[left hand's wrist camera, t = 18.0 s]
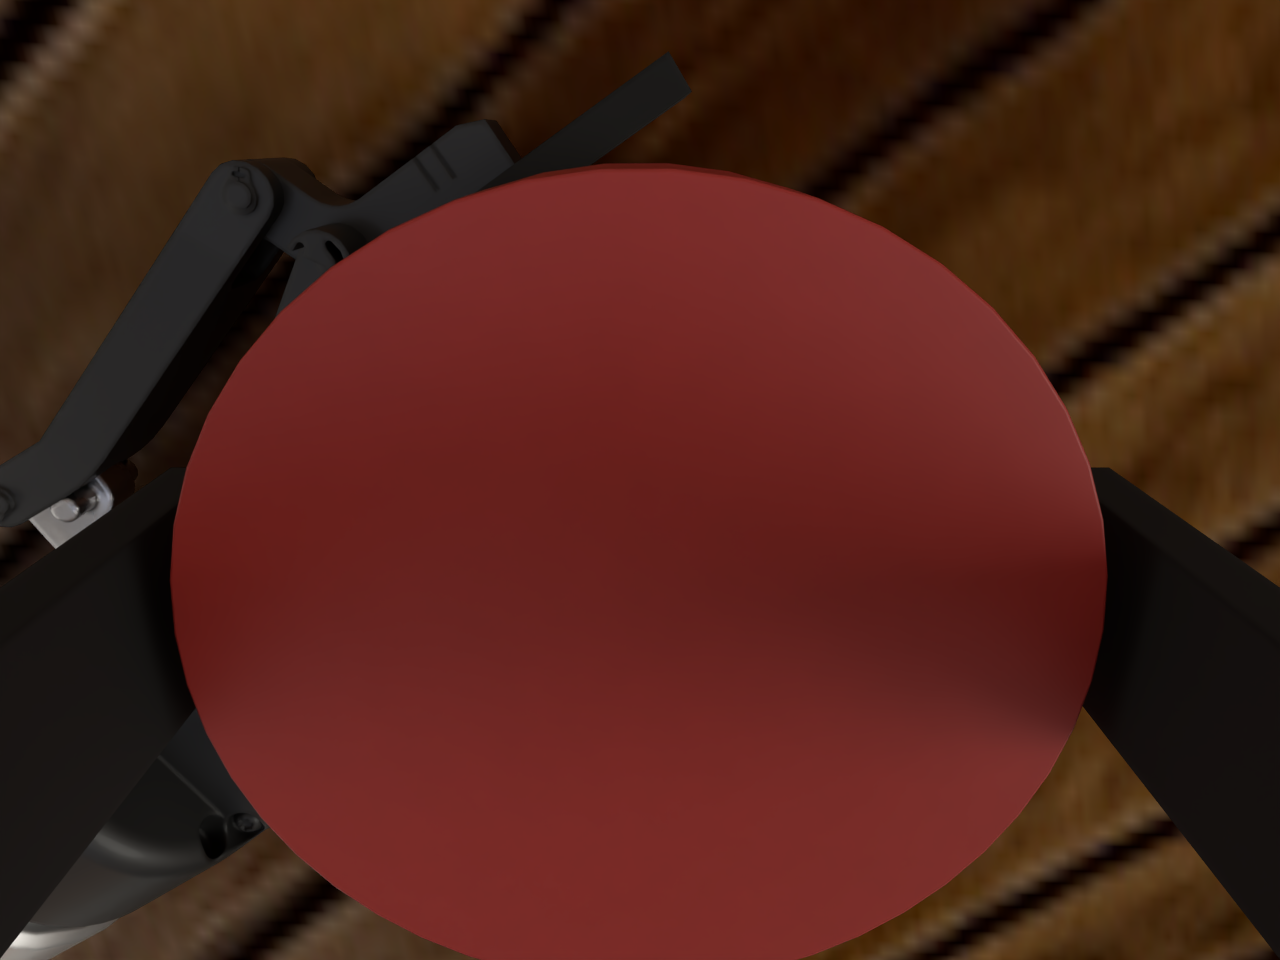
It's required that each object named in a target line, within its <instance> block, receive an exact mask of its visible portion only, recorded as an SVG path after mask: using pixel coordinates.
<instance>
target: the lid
mask: <svg viewBox="0 0 1280 960" xmlns="http://www.w3.org/2000/svg"><path fill="white" fill-rule="evenodd" d="M1107 578H1108V574H1107V561H1106V549H1105V536H1104V524H1103V517H1102V513H1101V509H1100V504H1099V500H1098V496H1097V492H1096V488H1095V484H1094V480H1093V475H1092V471H1091V467H1090V463H1089V461H1088V458H1087V456H1086V454H1085V451H1084V449H1083V446H1082V444H1081V442H1080V439H1079V437H1078V434H1077V432H1076V430H1075V427H1074V425H1073V422H1072V420H1071V418H1070V415H1069V413H1068V410H1067V408H1066V407H1065V405H1064V403H1063V402H1062V400H1061V399H1060V397H1059V395H1058V394H1057V392H1056V390H1055V389H1054V387H1053V386H1052V384H1051V382H1050V381H1049V379H1048V377H1047V376H1046V374H1045V373H1044V371H1043V369H1042V368H1041V366H1040V364H1039V363H1038V361H1037V360H1036V358H1035V356H1034V355H1033V354H1032V353H1031V352H1030V351H1029V349H1028V348H1027V347H1026V346H1025V345H1024V344H1023V342H1022V341H1021V340H1020V339H1019V338H1018V337H1017V335H1016V334H1015V333H1014V332H1013V331H1012V330H1011V328H1010V327H1009V326H1008V325H1007V324H1006V322H1005V321H1004V320H1003V319H1002V318H1001V317H1000V315H999V314H998V313H997V312H996V311H995V310H994V308H993V307H991V306H990V305H989V304H988V303H987V302H986V301H984V300H983V299H982V298H981V297H980V296H979V295H978V294H976V293H975V292H974V291H973V290H972V289H971V288H969V287H968V286H967V285H966V284H965V283H964V282H962V281H961V280H960V279H959V278H958V277H957V276H955V275H954V274H953V273H952V272H951V271H950V270H949V269H947V268H946V267H945V266H944V265H943V264H941V263H940V262H938V261H937V260H935V259H933V258H932V257H930V256H929V255H927V254H925V253H924V252H922V251H921V250H919V249H918V248H916V247H914V246H913V245H911V244H910V243H908V242H906V241H905V240H903V239H902V238H900V237H898V236H897V235H895V234H894V233H892V232H891V231H889V230H887V229H886V228H884V227H882V226H880V225H878V224H876V223H873V222H871V221H869V220H866V219H864V218H862V217H860V216H857V215H855V214H853V213H851V212H848V211H846V210H844V209H842V208H839V207H837V206H835V205H833V204H830V203H828V202H826V201H824V200H821V199H819V198H816V197H813V196H811V195H808V194H805V193H802V192H799V191H796V190H793V189H790V188H786V187H783V186H779V185H776V184H772V183H768V182H765V181H761V180H758V179H754V178H751V177H747V176H744V175H740V174H736V173H733V172H729V171H722V170H714V169H707V168H699V167H692V166H685V165H677V164H670V163H616V164H599V165H592V166H585V167H578V168H571V169H564V170H557V171H551V172H544V173H540V174H537V175H533V176H530V177H526V178H523V179H520V180H516V181H513V182H509V183H506V184H503V185H499V186H496V187H492V188H489V189H486V190H482V191H479V192H476V193H473V194H470V195H467V196H464V197H461V198H458V199H455V200H453V201H451V202H448V203H446V204H444V205H442V206H440V207H437V208H435V209H433V210H431V211H429V212H427V213H424V214H422V215H420V216H418V217H416V218H413V219H411V220H409V221H407V222H405V223H402V224H400V225H398V226H396V227H394V228H391V229H389V230H388V231H386V232H385V233H383V234H381V235H380V236H378V237H377V238H375V239H374V240H372V241H371V242H369V243H368V244H366V245H364V246H363V247H361V248H360V249H358V250H357V251H355V252H354V253H352V254H351V255H349V256H347V257H346V258H344V259H343V260H341V261H340V262H338V263H337V264H335V265H334V266H332V267H331V268H329V269H328V270H327V271H326V272H325V273H324V274H323V275H321V276H320V277H319V278H318V279H317V280H316V281H315V282H314V283H312V284H311V285H310V286H309V287H308V288H307V289H306V290H304V291H303V292H302V293H301V294H300V295H299V296H298V297H297V298H295V299H294V300H293V301H292V302H291V303H290V304H289V305H288V306H286V307H285V308H284V309H283V310H282V311H281V312H280V313H279V314H278V315H277V317H276V318H275V319H274V320H273V321H272V323H271V324H270V325H269V326H268V327H267V329H266V330H265V331H264V332H263V333H262V335H261V336H260V337H259V338H258V339H257V341H256V342H255V343H254V344H253V345H252V347H251V348H250V349H249V350H248V351H247V353H246V354H245V355H244V356H243V357H242V359H241V360H240V361H239V363H238V365H237V366H236V368H235V370H234V371H233V373H232V375H231V376H230V378H229V380H228V381H227V383H226V385H225V386H224V388H223V390H222V391H221V393H220V395H219V396H218V398H217V400H216V401H215V403H214V405H213V406H212V408H211V410H210V411H209V413H208V415H207V418H206V420H205V423H204V425H203V428H202V430H201V433H200V435H199V438H198V440H197V443H196V445H195V448H194V450H193V453H192V455H191V458H190V460H189V463H188V465H187V468H186V472H185V476H184V481H183V485H182V489H181V494H180V498H179V503H178V507H177V511H176V516H175V520H174V526H173V541H172V555H171V570H170V587H171V599H172V610H173V622H174V633H175V638H176V642H177V646H178V650H179V654H180V659H181V663H182V667H183V671H184V675H185V679H186V684H187V687H188V689H189V692H190V694H191V697H192V699H193V702H194V704H195V707H196V709H197V712H198V714H199V717H200V719H201V722H202V724H203V727H204V729H205V732H206V734H207V736H208V738H209V739H210V741H211V743H212V745H213V746H214V748H215V750H216V752H217V753H218V755H219V757H220V759H221V761H222V762H223V764H224V766H225V768H226V769H227V771H228V773H229V775H230V777H231V778H232V779H233V781H234V782H235V783H236V785H237V786H238V787H239V789H240V790H241V792H242V793H243V794H244V796H245V797H246V798H247V800H248V801H249V802H250V804H251V805H252V806H253V808H254V809H255V810H256V812H257V813H258V814H259V816H260V817H261V818H262V819H263V820H264V821H265V822H266V823H267V825H268V826H269V827H270V828H271V829H272V830H273V831H274V832H275V833H276V834H277V835H278V836H279V837H280V838H281V839H282V840H283V841H284V842H285V843H286V844H287V845H288V847H289V848H290V849H291V850H292V851H293V852H294V853H295V854H296V855H297V856H299V857H300V858H301V859H302V860H303V861H305V862H306V863H307V864H308V865H309V866H311V867H312V868H313V869H314V870H315V871H317V872H318V873H319V874H320V875H321V876H323V877H324V878H325V879H326V880H327V881H329V882H330V883H331V884H332V885H333V886H335V887H336V888H338V889H339V890H341V891H342V892H344V893H345V894H347V895H348V896H350V897H351V898H353V899H354V900H356V901H357V902H359V903H360V904H362V905H363V906H365V907H366V908H368V909H370V910H371V911H373V912H374V913H376V914H377V915H379V916H381V917H383V918H385V919H387V920H389V921H391V922H393V923H394V924H396V925H398V926H400V927H402V928H404V929H406V930H408V931H410V932H412V933H414V934H416V935H418V936H420V937H422V938H424V939H427V940H429V941H432V942H434V943H437V944H439V945H442V946H444V947H447V948H449V949H452V950H454V951H457V952H459V953H462V954H464V955H467V956H470V957H473V958H477V959H480V960H797V959H800V958H804V957H807V956H811V955H814V954H816V953H819V952H821V951H824V950H826V949H829V948H831V947H834V946H836V945H838V944H841V943H843V942H846V941H848V940H851V939H853V938H856V937H858V936H860V935H862V934H864V933H866V932H868V931H870V930H872V929H874V928H876V927H877V926H879V925H881V924H883V923H885V922H887V921H889V920H891V919H893V918H895V917H896V916H898V915H900V914H902V913H904V912H906V911H907V910H909V909H910V908H911V907H913V906H914V905H916V904H917V903H919V902H920V901H922V900H923V899H925V898H926V897H928V896H929V895H931V894H932V893H934V892H935V891H937V890H938V889H940V888H941V887H943V886H944V885H946V884H947V883H948V882H949V881H950V880H952V879H953V878H954V877H955V876H956V875H958V874H959V873H960V872H961V871H962V870H963V869H965V868H966V867H967V866H968V865H969V864H971V863H972V862H973V861H974V860H975V859H976V858H978V857H979V856H980V855H981V854H982V853H984V852H985V851H986V850H987V849H988V847H989V846H990V845H991V844H992V843H993V842H994V841H995V840H996V839H997V838H998V837H999V836H1000V835H1001V834H1002V833H1003V831H1004V830H1005V829H1006V828H1007V827H1008V826H1009V825H1010V824H1011V823H1012V822H1013V821H1014V820H1015V819H1016V818H1017V816H1018V815H1019V814H1020V813H1021V811H1022V810H1023V809H1024V807H1025V806H1026V805H1027V803H1028V802H1029V801H1030V799H1031V798H1032V796H1033V795H1034V794H1035V792H1036V791H1037V790H1038V788H1039V787H1040V785H1041V784H1042V783H1043V781H1044V780H1045V779H1046V777H1047V776H1048V774H1049V773H1050V771H1051V769H1052V767H1053V766H1054V764H1055V762H1056V760H1057V758H1058V756H1059V755H1060V753H1061V751H1062V749H1063V747H1064V745H1065V744H1066V742H1067V740H1068V738H1069V736H1070V735H1071V733H1072V731H1073V729H1074V727H1075V724H1076V721H1077V719H1078V716H1079V713H1080V711H1081V708H1082V706H1083V703H1084V700H1085V698H1086V695H1087V693H1088V690H1089V687H1090V685H1091V682H1092V679H1093V674H1094V670H1095V665H1096V661H1097V657H1098V652H1099V648H1100V643H1101V639H1102V634H1103V630H1104V618H1105V605H1106V591H1107Z"/></svg>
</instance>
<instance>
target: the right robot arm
mask: <svg viewBox="0 0 1280 960" xmlns="http://www.w3.org/2000/svg"><path fill="white" fill-rule="evenodd" d="M691 92H692V91H691V89H690V88H689V86H688V84H687V83H686V81H685V79H684V77H683V76H682V74H681V72H680V71H679V69H678V67H677V65H676V64H675V62H674V60H673V58H672V57H671V55H670V53H669V52H667V53H666V54H664V55H663V56H662V57H660V58H659V59H658V60H656V61H655V62H653V63H652V64H651V65H649V66H648V67H647V68H645V69H644V70H642V71H641V72H640V73H638V74H637V75H636V76H634V77H633V78H632V79H630V80H629V81H627V82H626V83H625V84H623V85H622V86H621V87H619V88H618V89H616V90H615V91H614V92H612V93H611V94H610V95H608V96H607V97H605V98H604V99H603V100H601V101H600V102H599V103H597V104H596V105H595V106H593V107H592V108H590V109H589V110H588V111H586V112H585V113H584V114H582V115H581V116H579V117H578V118H577V119H575V120H574V121H573V122H571V123H570V124H568V125H567V126H566V127H564V128H563V129H562V130H560V131H559V132H558V133H556V134H555V135H553V136H552V137H551V138H549V139H548V140H547V141H545V142H544V143H542V144H541V145H540V146H538V147H537V148H536V149H534V150H533V151H531V152H530V153H529V154H527V155H526V156H525V157H523V158H521V157H520V155H519V154H518V152H517V151H516V149H515V148H514V146H513V145H512V143H511V142H510V140H509V139H508V137H507V136H506V134H505V133H504V131H503V130H502V128H501V127H500V125H499V124H498V122H497V121H494V120H486V119H484V120H479V121H475V122H471V123H466V124H462V125H457V126H455V127H454V128H453V129H451V130H450V131H449V132H447V133H446V134H445V135H443V136H442V137H441V138H439V139H438V140H437V141H435V142H434V143H433V144H432V145H430V146H429V147H427V148H426V149H425V150H423V151H422V152H421V153H419V154H418V155H417V156H416V157H415V158H413V159H411V160H410V161H409V162H407V163H406V164H405V165H404V166H402V167H401V168H400V169H398V170H397V171H396V172H394V173H393V174H392V175H390V176H389V177H388V178H386V179H385V180H384V181H382V182H381V183H380V184H378V185H377V186H376V187H374V188H373V189H372V190H370V191H369V192H368V193H366V194H365V195H364V196H362V197H361V198H360V199H358V200H356V201H354V200H350V199H346V198H344V197H342V196H340V195H338V194H336V193H335V192H333V191H332V190H330V189H329V188H328V187H326V186H325V185H323V184H322V183H321V182H319V181H318V180H316V178H315V176H314V174H313V173H312V172H311V170H310V169H309V168H308V167H307V166H306V165H305V164H303V163H301V162H300V161H298V160H296V159H291V158H267V159H248V160H232V161H229V162H226V163H222V164H220V165H219V166H218V167H217V168H216V169H215V170H214V171H213V172H212V173H211V175H210V176H209V178H208V180H207V181H206V183H205V184H204V186H203V187H202V189H201V190H200V192H199V194H198V195H197V197H196V198H195V200H194V201H193V203H192V205H191V206H190V208H189V209H188V211H187V212H186V214H185V215H184V217H183V219H182V220H181V222H180V223H179V225H178V226H177V228H176V229H175V231H174V233H173V234H172V236H171V237H170V239H169V240H168V242H167V243H166V245H165V247H164V248H163V250H162V251H161V253H160V254H159V256H158V257H157V259H156V261H155V262H154V264H153V265H152V267H151V268H150V270H149V271H148V273H147V275H146V276H145V278H144V279H143V281H142V282H141V284H140V285H139V287H138V289H137V290H136V292H135V293H134V295H133V296H132V298H131V299H130V301H129V303H128V304H127V306H126V307H125V309H124V310H123V312H122V313H121V315H120V317H119V318H118V320H117V321H116V323H115V324H114V326H113V327H112V329H111V331H110V332H109V334H108V335H107V337H106V338H105V340H104V342H103V343H102V345H101V346H100V348H99V349H98V351H97V352H96V354H95V356H94V357H93V359H92V360H91V362H90V363H89V365H88V366H87V368H86V370H85V371H84V373H83V374H82V376H81V377H80V379H79V380H78V382H77V384H76V385H75V387H74V388H73V390H72V391H71V393H70V394H69V396H68V398H67V399H66V401H65V402H64V404H63V405H62V407H61V408H60V410H59V412H58V413H57V415H56V416H55V418H54V419H53V421H52V422H51V424H50V426H49V427H48V429H47V430H46V432H45V433H44V435H43V436H42V438H41V440H40V441H39V442H38V443H36V444H34V445H33V446H31V447H29V448H28V449H26V450H25V451H23V452H21V453H20V454H18V455H16V456H15V457H13V458H11V459H10V460H8V461H7V462H5V463H3V464H2V465H0V526H1V527H14V526H17V525H20V524H22V523H24V522H25V521H27V520H30V521H31V522H32V523H33V525H34V526H35V527H36V528H37V529H38V530H39V531H40V532H41V533H42V535H43V536H44V537H45V538H46V539H47V540H48V541H49V542H50V543H51V545H52V546H53V547H54V548H55V549H56V548H57V547H59V546H60V545H62V544H63V543H65V542H66V541H67V540H69V539H70V538H72V537H73V536H74V535H76V534H77V533H79V532H80V531H82V530H83V529H84V528H86V527H87V526H89V525H90V524H92V523H93V522H94V521H96V520H97V519H99V518H100V517H102V516H103V515H104V514H106V513H107V512H109V511H110V510H112V509H113V508H114V507H116V506H117V505H119V504H120V503H121V502H123V501H124V500H126V499H127V498H129V497H130V496H131V495H133V493H134V490H135V483H134V480H135V479H136V478H137V476H138V470H137V468H136V466H135V465H134V464H133V463H132V462H131V461H129V460H127V459H128V458H129V457H131V456H132V455H134V454H135V453H136V452H138V451H139V450H141V449H142V448H143V447H144V446H145V445H146V444H147V443H148V442H149V441H150V440H151V439H153V438H154V436H155V435H156V434H157V433H158V431H159V430H160V429H161V428H162V426H163V425H164V424H165V422H166V421H167V420H168V418H169V417H170V415H171V414H172V412H173V411H174V409H175V408H176V407H177V405H178V404H179V402H180V401H181V399H182V398H183V396H184V395H185V394H186V392H187V391H188V389H189V388H190V386H191V385H192V383H193V382H194V381H195V379H196V378H197V376H198V375H199V373H200V372H201V371H202V369H203V368H204V366H205V365H206V363H207V362H208V360H209V359H210V358H211V356H212V355H213V353H214V352H215V350H216V349H217V347H218V346H219V345H220V343H221V342H222V340H223V339H224V337H225V336H226V335H227V333H228V332H229V330H230V329H231V327H232V326H233V324H234V323H235V322H236V320H237V319H238V317H239V316H240V314H241V313H242V311H243V310H244V309H245V307H246V306H247V304H248V303H249V301H250V300H251V298H252V297H253V296H254V294H255V293H256V291H257V290H258V288H259V287H260V286H261V284H262V283H263V281H264V280H265V278H266V277H267V275H268V274H269V273H270V271H271V270H272V268H273V267H274V265H275V264H276V262H277V261H278V260H279V258H280V257H281V255H282V254H283V252H285V253H287V254H288V255H290V256H291V257H293V258H294V259H295V260H296V261H295V263H294V266H293V269H292V272H291V275H290V277H289V280H288V283H287V286H286V289H285V291H284V294H283V297H282V300H281V303H280V305H279V308H278V311H277V314H276V317H277V315H278V314H279V313H280V312H281V311H282V310H283V309H284V308H285V307H286V306H288V305H289V304H290V303H291V302H292V301H293V300H294V299H295V298H297V297H298V296H299V295H300V294H301V293H302V292H303V291H304V290H306V289H307V288H308V287H309V286H310V285H311V284H312V283H314V282H315V281H316V280H317V279H318V278H319V277H320V276H321V275H323V274H324V273H325V272H326V271H327V270H328V269H329V268H331V267H332V266H334V265H335V264H337V263H338V262H340V261H341V260H343V259H344V258H346V257H347V256H349V255H351V254H352V253H354V252H355V251H357V250H358V249H360V248H361V247H363V246H364V245H366V244H368V243H369V242H371V241H372V240H374V239H375V238H377V237H378V236H380V235H381V234H383V233H385V232H386V231H388V230H389V229H391V228H394V227H396V226H398V225H400V224H402V223H405V222H407V221H409V220H411V219H413V218H416V217H418V216H420V215H422V214H424V213H427V212H429V211H431V210H433V209H435V208H437V207H440V206H442V205H444V204H446V203H448V202H451V201H453V200H455V199H458V198H461V197H464V196H467V195H470V194H473V193H476V192H479V191H482V190H486V189H489V188H492V187H496V186H499V185H503V184H506V183H509V182H513V181H516V180H520V179H523V178H526V177H530V176H533V175H537V174H540V173H544V172H551V171H557V170H564V169H571V168H578V167H585V166H590V165H591V164H593V163H594V162H596V161H597V160H598V159H600V158H601V157H603V156H604V155H605V154H607V153H608V152H610V151H611V150H612V149H614V148H615V147H617V146H618V145H619V144H621V143H622V142H624V141H625V140H626V139H628V138H629V137H631V136H632V135H633V134H635V133H636V132H638V131H639V130H640V129H642V128H643V127H645V126H646V125H647V124H649V123H650V122H652V121H653V120H654V119H656V118H657V117H659V116H660V115H661V114H663V113H664V112H666V111H667V110H668V109H670V108H671V107H673V106H674V105H675V104H677V103H678V102H680V101H681V100H682V99H684V98H685V97H686V96H687V95H688V94H690V93H691ZM276 317H275V318H276ZM267 828H269V826H268V825H267V823H266V822H265V821H264V820H263V819H262V818H261V817H260V816H259V814H258V813H257V812H256V810H255V809H254V808H253V806H252V805H251V804H250V802H249V801H248V800H247V798H246V797H245V796H244V794H243V793H242V792H241V790H240V789H239V787H238V786H237V785H236V783H235V782H234V781H233V779H232V778H231V777H230V775H229V773H228V771H227V769H226V768H225V766H224V764H223V762H222V761H221V759H220V757H219V755H218V753H217V752H216V750H215V748H214V746H213V745H212V743H211V741H210V739H209V738H208V736H207V734H206V732H205V729H204V727H203V724H202V722H201V719H200V717H199V714H198V712H197V709H196V708H195V710H194V711H193V712H192V714H191V715H190V716H189V717H188V719H187V720H186V721H185V723H184V724H183V725H182V726H181V728H180V729H179V730H178V731H177V733H176V734H175V735H174V737H173V738H172V739H171V740H170V742H169V743H168V744H167V746H166V747H165V748H164V749H163V751H162V752H161V753H160V755H159V756H158V757H157V758H156V760H155V761H154V762H153V764H152V765H151V766H150V767H149V769H148V770H147V771H146V773H145V774H144V775H143V776H142V778H141V779H140V780H139V782H138V783H137V784H136V785H135V787H134V788H133V789H132V790H131V792H130V793H129V794H128V796H127V797H126V798H125V799H124V801H123V802H122V803H121V805H120V806H119V807H118V808H117V810H116V811H115V812H114V814H113V815H112V816H111V817H110V819H109V820H108V821H107V823H106V824H105V825H104V826H103V828H102V829H101V830H100V832H99V833H98V834H97V835H96V837H95V838H94V839H93V841H92V842H91V843H90V844H89V846H88V847H87V848H86V849H85V851H84V852H83V853H82V855H81V856H80V857H79V858H78V860H77V861H76V862H75V864H74V865H73V866H72V867H71V869H70V870H69V871H68V873H67V874H66V875H65V876H64V878H63V879H62V880H61V882H60V883H59V884H58V885H57V887H56V888H55V889H54V891H53V892H52V893H51V894H50V896H49V897H48V898H47V900H46V901H45V902H44V903H43V905H42V906H41V907H40V908H39V910H38V911H37V912H36V914H35V915H34V916H33V917H32V919H31V920H30V921H29V923H28V924H27V925H26V926H25V928H24V929H23V930H22V932H21V933H20V934H19V935H18V937H17V938H16V939H15V941H14V942H13V943H12V944H11V946H10V947H9V948H8V950H7V951H6V952H5V953H4V955H3V956H2V957H1V959H0V960H49V959H51V958H53V957H54V956H56V955H58V954H60V953H62V952H64V951H65V950H67V949H69V948H71V947H73V946H75V945H76V944H78V943H80V942H82V941H84V940H86V939H87V938H89V937H91V936H93V935H95V934H97V933H99V932H100V931H102V930H104V929H106V928H107V927H108V926H110V925H111V924H112V923H114V922H115V921H116V920H117V919H119V918H120V917H122V916H124V915H127V914H129V913H131V912H133V911H135V910H137V909H139V908H140V907H142V906H144V905H145V904H147V903H149V902H151V901H152V900H154V899H156V898H158V897H159V896H161V895H163V894H165V893H166V892H168V891H170V890H172V889H173V888H175V887H177V886H179V885H180V884H182V883H184V882H186V881H187V880H189V879H191V878H193V877H194V876H196V875H198V874H200V873H201V872H203V871H205V870H207V869H208V868H210V867H212V866H214V865H215V864H217V863H219V862H220V861H222V860H224V859H225V858H227V857H228V856H230V855H231V854H233V853H234V852H235V851H237V850H238V849H240V848H241V847H242V846H244V845H245V844H246V843H248V842H249V841H250V840H252V839H253V838H254V837H256V836H257V835H259V834H260V833H261V832H263V831H264V830H266V829H267Z"/></svg>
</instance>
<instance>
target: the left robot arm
mask: <svg viewBox="0 0 1280 960" xmlns="http://www.w3.org/2000/svg"><path fill="white" fill-rule="evenodd" d="M1091 471H1092V475H1093V480H1094V484H1095V488H1096V492H1097V496H1098V500H1099V504H1100V509H1101V513H1102V517H1103V524H1104V536H1105V549H1106V561H1107V574H1108V578H1107V591H1106V605H1105V618H1104V630H1103V634H1102V639H1101V643H1100V648H1099V652H1098V657H1097V661H1096V665H1095V670H1094V674H1093V679H1092V682H1091V685H1090V687H1089V690H1088V693H1087V695H1086V698H1085V700H1084V703H1083V707H1084V708H1085V710H1086V711H1087V712H1088V714H1089V715H1090V716H1091V717H1092V719H1093V720H1094V721H1095V723H1096V724H1097V725H1098V726H1099V728H1100V729H1101V730H1102V732H1103V733H1104V734H1105V735H1106V737H1107V738H1108V739H1109V740H1110V742H1111V743H1112V744H1113V746H1114V747H1115V748H1116V749H1117V751H1118V752H1119V753H1120V755H1121V756H1122V757H1123V758H1124V760H1125V761H1126V762H1127V764H1128V765H1129V766H1130V767H1131V769H1132V770H1133V771H1134V773H1135V774H1136V775H1137V776H1138V778H1139V779H1140V780H1141V782H1142V783H1143V784H1144V785H1145V787H1146V788H1147V789H1148V791H1149V792H1150V793H1151V794H1152V796H1153V797H1154V798H1155V799H1156V801H1157V802H1158V803H1159V805H1160V806H1161V807H1162V808H1163V810H1164V811H1165V812H1166V814H1167V815H1168V816H1169V817H1170V819H1171V820H1172V821H1173V823H1174V824H1175V825H1176V826H1177V828H1178V829H1179V830H1180V832H1181V833H1182V834H1183V835H1184V837H1185V838H1186V839H1187V841H1188V842H1189V843H1190V844H1191V846H1192V847H1193V848H1194V849H1195V851H1196V852H1197V853H1198V855H1199V856H1200V857H1201V858H1202V860H1203V861H1204V862H1205V864H1206V865H1207V866H1208V867H1209V869H1210V870H1211V871H1212V873H1213V874H1214V875H1215V876H1216V878H1217V879H1218V880H1219V882H1220V883H1221V884H1222V885H1223V887H1224V888H1225V889H1226V891H1227V892H1228V893H1229V894H1230V896H1231V897H1232V898H1233V900H1234V901H1235V902H1236V903H1237V905H1238V906H1239V907H1240V908H1241V910H1242V911H1243V912H1244V914H1245V915H1246V916H1247V917H1248V919H1249V920H1250V921H1251V923H1252V924H1253V925H1254V926H1255V928H1256V929H1257V930H1258V932H1259V933H1260V934H1261V935H1262V937H1263V938H1264V939H1265V941H1266V942H1267V943H1268V944H1269V946H1270V947H1271V948H1272V950H1273V951H1274V952H1275V953H1276V955H1277V956H1278V957H1279V959H1280V587H1278V586H1277V585H1275V584H1274V583H1272V582H1271V581H1270V580H1268V579H1267V578H1265V577H1264V576H1262V575H1261V574H1260V573H1258V572H1257V571H1255V570H1254V569H1252V568H1251V567H1250V566H1248V565H1247V564H1245V563H1244V562H1243V561H1241V560H1240V559H1238V558H1237V557H1235V556H1234V555H1233V554H1231V553H1230V552H1228V551H1227V550H1225V549H1224V548H1223V547H1221V546H1220V545H1218V544H1217V543H1215V542H1214V541H1213V540H1211V539H1210V538H1208V537H1207V536H1205V535H1204V534H1203V533H1201V532H1200V531H1198V530H1197V529H1196V528H1194V527H1193V526H1191V525H1190V524H1188V523H1187V522H1186V521H1184V520H1183V519H1181V518H1180V517H1178V516H1177V515H1176V514H1174V513H1173V512H1171V511H1170V510H1168V509H1167V508H1166V507H1164V506H1163V505H1161V504H1160V503H1159V502H1157V501H1156V500H1154V499H1153V498H1151V497H1150V496H1149V495H1147V494H1146V493H1144V492H1143V491H1141V490H1140V489H1139V488H1137V487H1136V486H1134V485H1133V484H1131V483H1130V482H1129V481H1127V480H1126V479H1124V478H1123V477H1121V476H1120V475H1119V474H1117V473H1116V472H1114V471H1113V470H1112V469H1110V468H1091ZM185 472H186V468H170V469H168V470H167V471H166V472H164V473H163V474H161V475H160V476H159V477H157V478H156V479H154V480H153V481H151V482H150V483H149V484H147V485H146V486H144V487H143V488H141V489H140V490H139V491H137V492H136V493H134V494H133V495H131V496H130V497H129V498H127V499H126V500H124V501H123V502H121V503H120V504H119V505H117V506H116V507H114V508H113V509H112V510H110V511H109V512H107V513H106V514H104V515H103V516H102V517H100V518H99V519H97V520H96V521H94V522H93V523H92V524H90V525H89V526H87V527H86V528H84V529H83V530H82V531H80V532H79V533H77V534H76V535H74V536H73V537H72V538H70V539H69V540H67V541H66V542H65V543H63V544H62V545H60V546H59V547H57V548H56V549H55V550H53V551H52V552H50V553H49V554H47V555H46V556H45V557H43V558H42V559H40V560H39V561H37V562H36V563H35V564H33V565H32V566H30V567H29V568H28V569H26V570H25V571H23V572H22V573H20V574H19V575H18V576H16V577H15V578H13V579H12V580H10V581H9V582H8V583H6V584H5V585H3V586H2V587H0V959H1V957H2V956H3V955H4V953H5V952H6V951H7V950H8V948H9V947H10V946H11V944H12V943H13V942H14V941H15V939H16V938H17V937H18V935H19V934H20V933H21V932H22V930H23V929H24V928H25V926H26V925H27V924H28V923H29V921H30V920H31V919H32V917H33V916H34V915H35V914H36V912H37V911H38V910H39V908H40V907H41V906H42V905H43V903H44V902H45V901H46V900H47V898H48V897H49V896H50V894H51V893H52V892H53V891H54V889H55V888H56V887H57V885H58V884H59V883H60V882H61V880H62V879H63V878H64V876H65V875H66V874H67V873H68V871H69V870H70V869H71V867H72V866H73V865H74V864H75V862H76V861H77V860H78V858H79V857H80V856H81V855H82V853H83V852H84V851H85V849H86V848H87V847H88V846H89V844H90V843H91V842H92V841H93V839H94V838H95V837H96V835H97V834H98V833H99V832H100V830H101V829H102V828H103V826H104V825H105V824H106V823H107V821H108V820H109V819H110V817H111V816H112V815H113V814H114V812H115V811H116V810H117V808H118V807H119V806H120V805H121V803H122V802H123V801H124V799H125V798H126V797H127V796H128V794H129V793H130V792H131V790H132V789H133V788H134V787H135V785H136V784H137V783H138V782H139V780H140V779H141V778H142V776H143V775H144V774H145V773H146V771H147V770H148V769H149V767H150V766H151V765H152V764H153V762H154V761H155V760H156V758H157V757H158V756H159V755H160V753H161V752H162V751H163V749H164V748H165V747H166V746H167V744H168V743H169V742H170V740H171V739H172V738H173V737H174V735H175V734H176V733H177V731H178V730H179V729H180V728H181V726H182V725H183V724H184V723H185V721H186V720H187V719H188V717H189V716H190V715H191V714H192V712H193V711H194V710H195V708H196V707H195V704H194V702H193V699H192V697H191V694H190V692H189V689H188V687H187V684H186V679H185V675H184V671H183V667H182V663H181V659H180V654H179V650H178V646H177V642H176V638H175V633H174V622H173V610H172V599H171V587H170V570H171V555H172V541H173V526H174V520H175V516H176V511H177V507H178V503H179V498H180V494H181V489H182V485H183V481H184V476H185Z"/></svg>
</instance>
